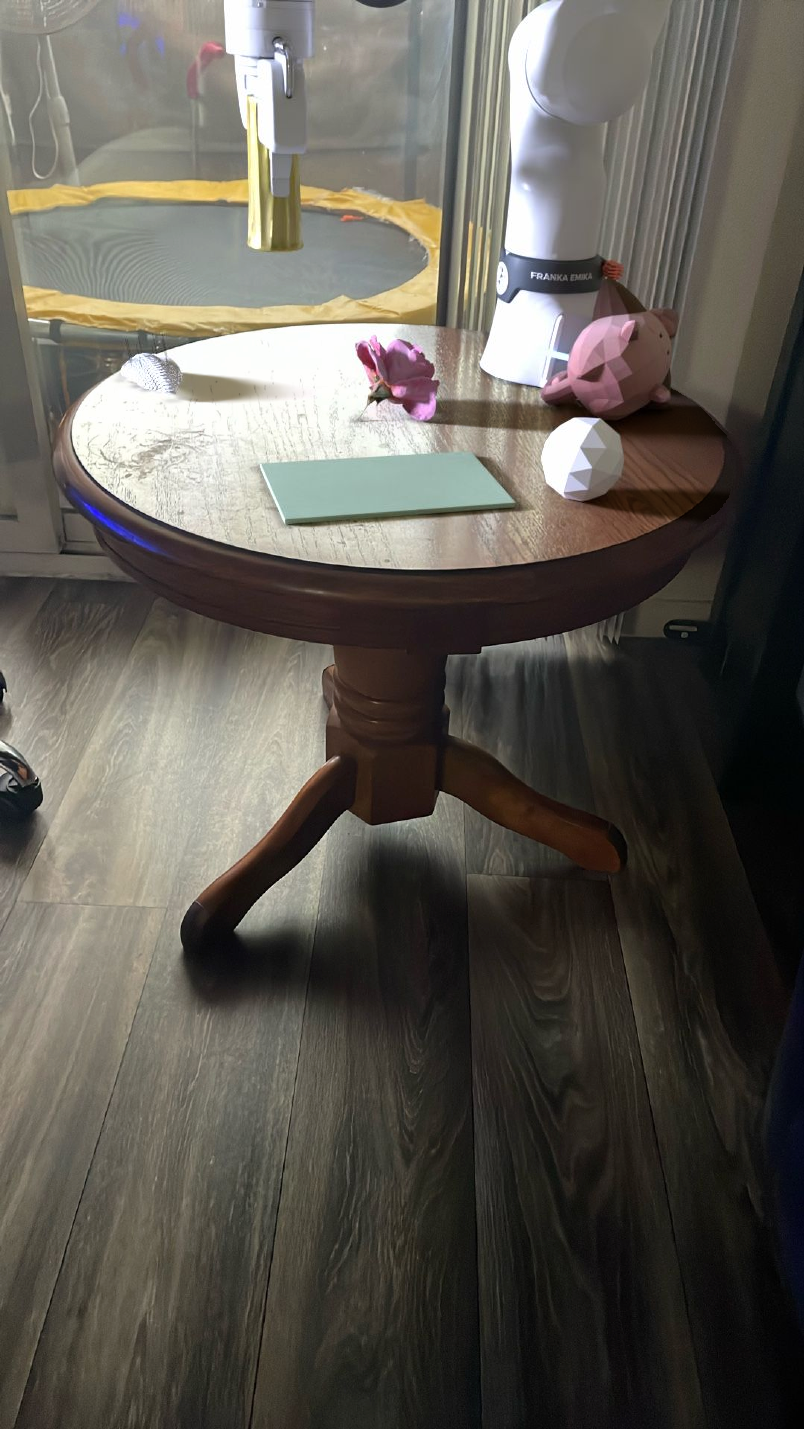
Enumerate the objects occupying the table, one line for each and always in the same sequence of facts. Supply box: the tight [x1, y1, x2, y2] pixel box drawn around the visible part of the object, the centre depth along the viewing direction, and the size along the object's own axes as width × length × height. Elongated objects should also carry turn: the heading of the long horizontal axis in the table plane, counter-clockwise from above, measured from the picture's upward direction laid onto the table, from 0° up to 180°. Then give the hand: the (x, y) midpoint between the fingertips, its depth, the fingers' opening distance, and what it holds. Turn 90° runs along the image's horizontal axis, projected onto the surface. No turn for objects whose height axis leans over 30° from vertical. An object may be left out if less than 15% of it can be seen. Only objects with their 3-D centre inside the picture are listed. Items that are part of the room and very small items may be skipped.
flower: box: [354, 334, 441, 422], centre depth 115 cm, size 11×10×10 cm
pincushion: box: [120, 332, 184, 395], centre depth 118 cm, size 12×6×6 cm, turn 32°
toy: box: [539, 277, 680, 421], centre depth 118 cm, size 17×16×15 cm
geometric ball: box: [540, 417, 625, 502], centre depth 98 cm, size 8×8×8 cm
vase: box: [246, 94, 304, 254], centre depth 109 cm, size 6×6×14 cm
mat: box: [259, 450, 516, 525], centre depth 99 cm, size 22×13×1 cm, turn 106°
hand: (274, 190), depth 110 cm, fingers closed on vase, 5 cm apart
